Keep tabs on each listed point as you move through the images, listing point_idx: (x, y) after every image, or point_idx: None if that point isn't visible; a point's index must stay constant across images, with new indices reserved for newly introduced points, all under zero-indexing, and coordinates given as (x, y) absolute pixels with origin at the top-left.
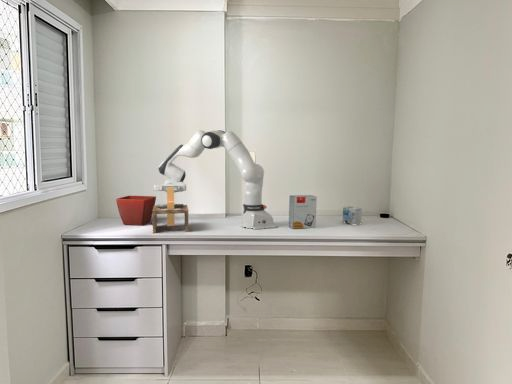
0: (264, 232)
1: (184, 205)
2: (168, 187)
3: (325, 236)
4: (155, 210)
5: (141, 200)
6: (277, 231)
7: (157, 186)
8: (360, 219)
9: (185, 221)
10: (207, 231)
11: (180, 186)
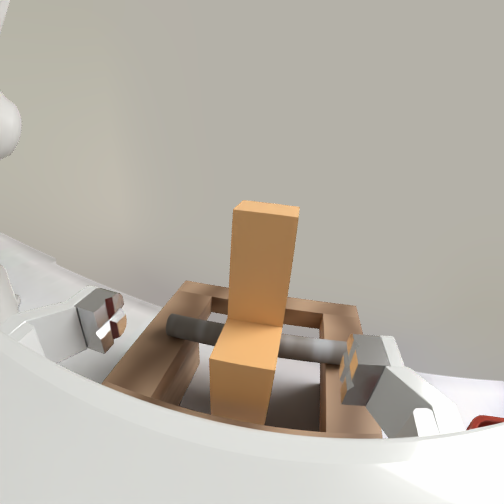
0: (36, 280)
1: (123, 384)
2: (285, 212)
3: (17, 241)
4: (342, 306)
5: (494, 420)
6: (15, 275)
7: (502, 430)
8: None
9: (183, 362)
10: (126, 340)
11: (12, 318)
